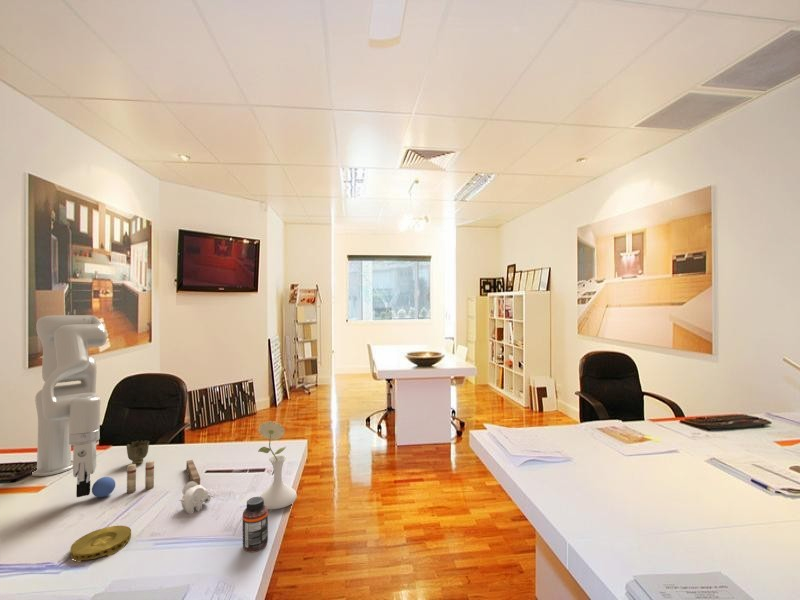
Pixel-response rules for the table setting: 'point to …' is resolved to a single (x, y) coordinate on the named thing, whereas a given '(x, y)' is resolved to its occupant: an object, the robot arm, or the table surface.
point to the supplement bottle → (255, 525)
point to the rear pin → (149, 475)
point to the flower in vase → (276, 470)
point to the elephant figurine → (194, 496)
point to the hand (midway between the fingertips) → (83, 495)
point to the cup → (137, 451)
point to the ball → (103, 487)
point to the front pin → (131, 478)
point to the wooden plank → (192, 472)
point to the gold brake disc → (100, 543)
